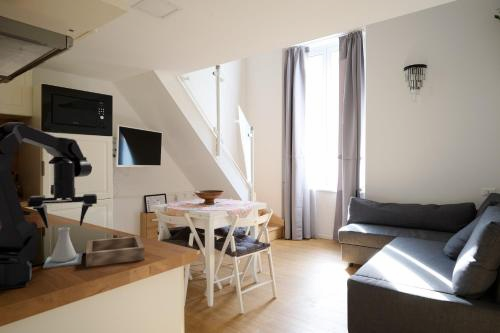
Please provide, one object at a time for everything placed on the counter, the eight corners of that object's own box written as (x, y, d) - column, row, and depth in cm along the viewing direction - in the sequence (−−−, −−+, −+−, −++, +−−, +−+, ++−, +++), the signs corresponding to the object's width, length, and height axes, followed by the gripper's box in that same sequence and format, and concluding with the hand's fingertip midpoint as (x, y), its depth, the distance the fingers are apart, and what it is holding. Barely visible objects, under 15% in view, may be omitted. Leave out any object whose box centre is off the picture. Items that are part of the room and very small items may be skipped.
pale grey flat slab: (43, 268, 93) (43, 266, 93) (47, 258, 102) (47, 256, 102) (81, 263, 98) (81, 262, 98) (82, 255, 107) (82, 253, 107)
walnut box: (86, 266, 95) (86, 253, 95) (87, 251, 111) (87, 240, 111) (144, 259, 103) (144, 247, 103) (138, 246, 118) (138, 235, 118)
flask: (66, 263, 96) (66, 231, 96) (44, 262, 97) (44, 230, 97) (81, 256, 103) (81, 226, 103) (61, 255, 104) (61, 225, 104)
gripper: (96, 176, 111) (96, 220, 111) (33, 177, 103) (34, 224, 103) (96, 178, 101) (96, 226, 101) (26, 179, 93) (27, 231, 93)
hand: (64, 226), depth 100 cm, fingers open, 9 cm apart
